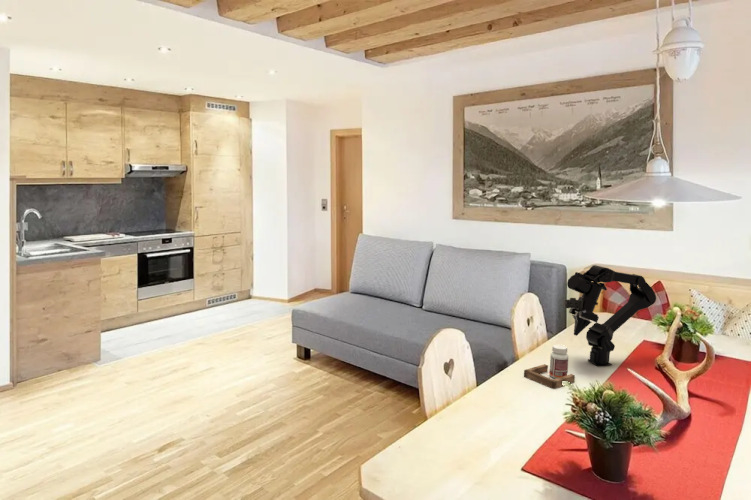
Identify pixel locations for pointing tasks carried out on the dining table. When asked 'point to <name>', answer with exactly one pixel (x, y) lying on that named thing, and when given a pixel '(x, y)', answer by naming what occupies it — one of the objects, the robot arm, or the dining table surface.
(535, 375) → the brown wooden tray
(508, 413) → the dining table surface
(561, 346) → the pill bottle
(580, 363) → the dining table surface
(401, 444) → the dining table surface
